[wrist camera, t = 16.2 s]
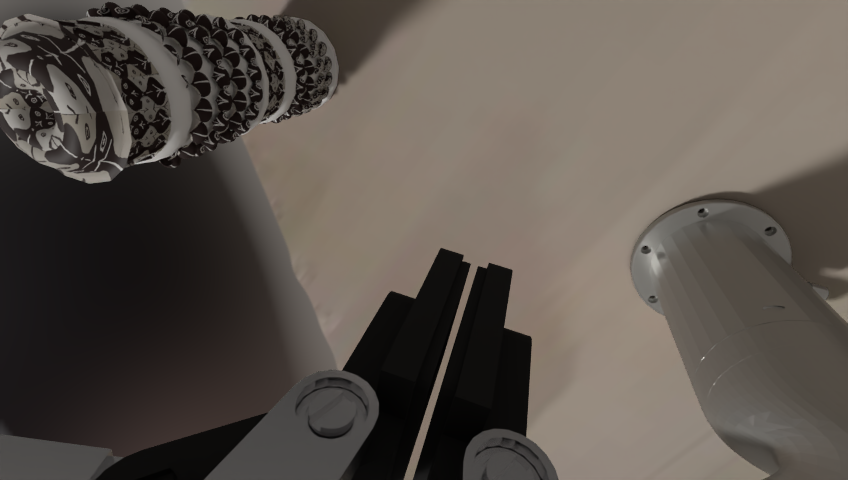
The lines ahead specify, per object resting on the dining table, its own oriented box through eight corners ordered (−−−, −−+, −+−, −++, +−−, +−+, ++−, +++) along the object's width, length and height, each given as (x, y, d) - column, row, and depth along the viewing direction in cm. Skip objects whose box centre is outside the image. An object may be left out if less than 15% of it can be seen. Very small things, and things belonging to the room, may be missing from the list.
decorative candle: (338, 11, 38) (67, -6, 17) (346, 116, 43) (136, 210, 21) (250, 11, 41) (-93, -4, 19) (265, 111, 45) (-1, 192, 23)
